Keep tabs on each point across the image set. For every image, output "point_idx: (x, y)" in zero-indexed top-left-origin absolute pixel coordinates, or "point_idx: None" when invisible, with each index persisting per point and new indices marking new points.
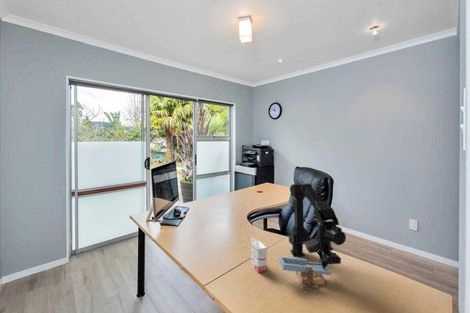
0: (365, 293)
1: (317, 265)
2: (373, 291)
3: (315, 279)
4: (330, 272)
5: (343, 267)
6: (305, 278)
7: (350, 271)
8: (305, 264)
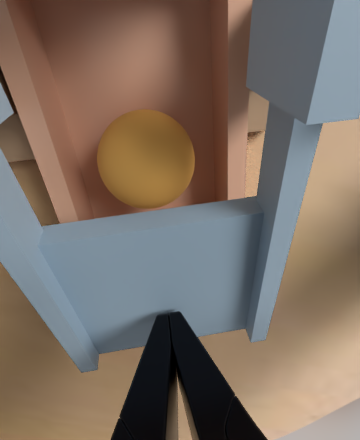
0: (53, 397)
1: (228, 268)
2: (81, 420)
3: (39, 162)
4: (77, 362)
5: (289, 361)
6: (146, 51)
7: (247, 379)
8: (256, 64)
